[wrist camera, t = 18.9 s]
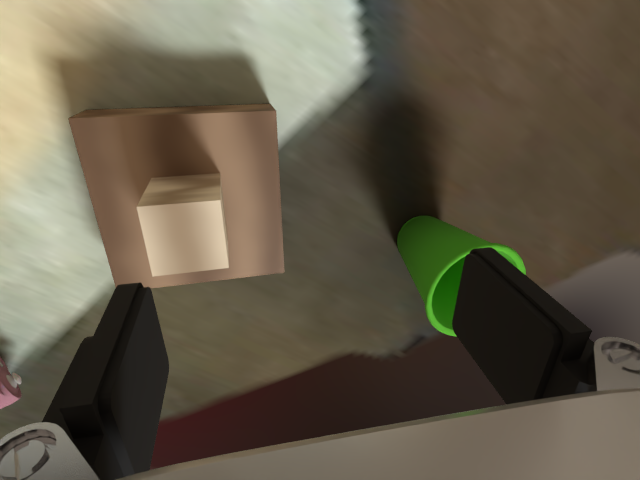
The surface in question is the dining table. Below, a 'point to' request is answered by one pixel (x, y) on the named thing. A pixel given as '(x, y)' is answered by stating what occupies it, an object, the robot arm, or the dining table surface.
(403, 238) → the cup
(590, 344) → the robot arm
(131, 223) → the walnut block
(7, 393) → the video game controller
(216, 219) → the birch block
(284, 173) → the dining table surface
